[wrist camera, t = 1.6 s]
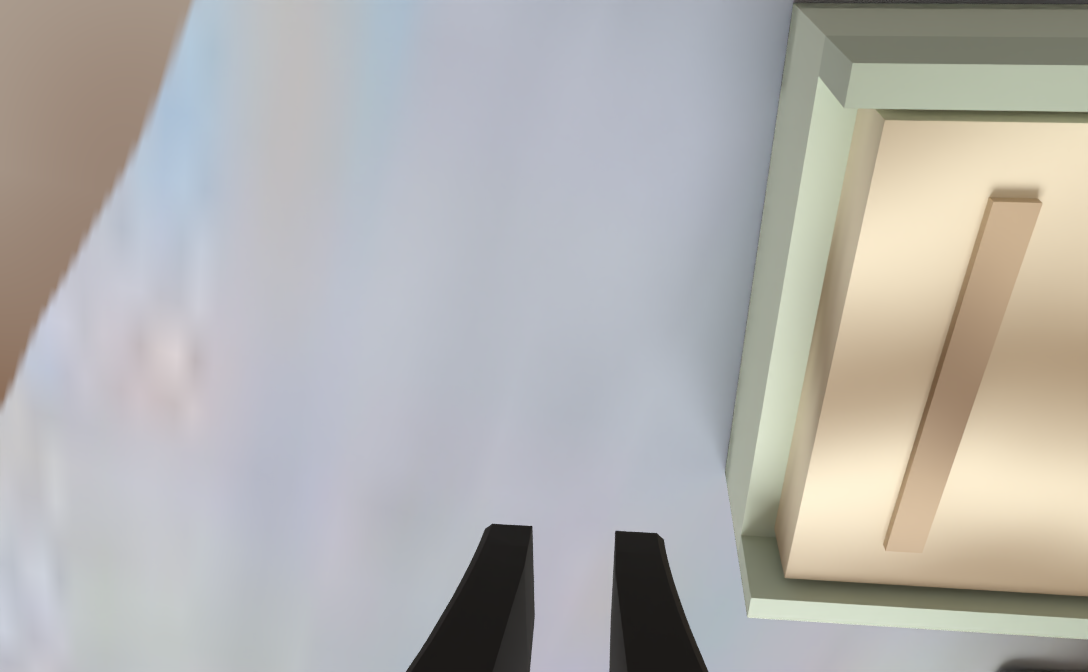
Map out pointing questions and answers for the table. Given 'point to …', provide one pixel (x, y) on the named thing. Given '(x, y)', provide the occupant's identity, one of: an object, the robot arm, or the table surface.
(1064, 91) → the green tray
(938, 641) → the table surface
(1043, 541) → the cover plate
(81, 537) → the table surface
